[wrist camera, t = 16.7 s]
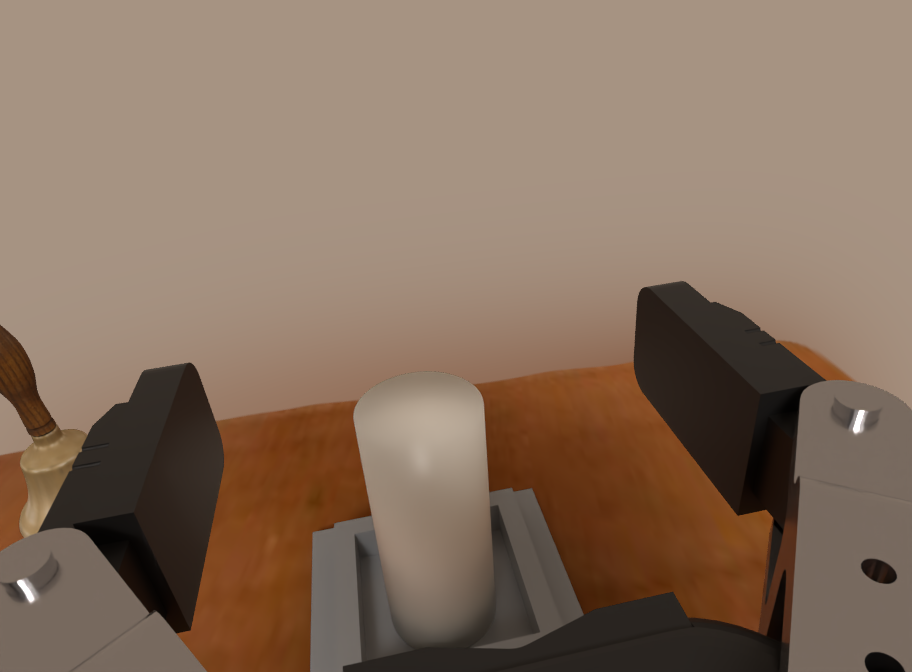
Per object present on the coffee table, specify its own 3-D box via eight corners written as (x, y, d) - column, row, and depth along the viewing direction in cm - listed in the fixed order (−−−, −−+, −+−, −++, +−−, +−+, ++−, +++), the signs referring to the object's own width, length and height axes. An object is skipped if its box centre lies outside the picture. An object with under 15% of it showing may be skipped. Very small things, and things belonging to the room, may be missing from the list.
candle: (394, 664, 33) (354, 460, 26) (387, 571, 38) (352, 381, 31) (506, 642, 34) (496, 438, 27) (484, 554, 39) (471, 364, 32)
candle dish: (311, 786, 29) (297, 752, 28) (315, 540, 42) (305, 508, 41) (618, 710, 31) (621, 675, 30) (532, 496, 44) (531, 464, 42)
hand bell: (122, 534, 44) (24, 340, 36) (-1, 555, 44) (-129, 362, 36) (154, 457, 52) (77, 280, 44) (48, 474, 51) (-50, 297, 43)
